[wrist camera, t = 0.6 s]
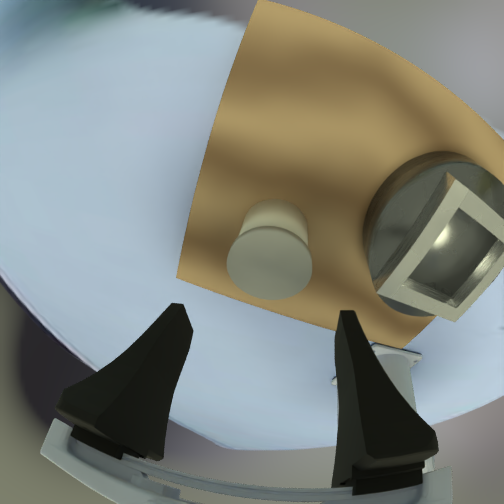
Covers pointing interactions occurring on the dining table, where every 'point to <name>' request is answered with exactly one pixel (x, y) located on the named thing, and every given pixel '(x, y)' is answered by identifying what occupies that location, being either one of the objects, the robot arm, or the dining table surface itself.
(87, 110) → the dining table surface
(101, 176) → the dining table surface
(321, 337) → the dining table surface
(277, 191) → the board
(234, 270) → the flanged cap
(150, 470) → the robot arm
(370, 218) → the grey round socket base
